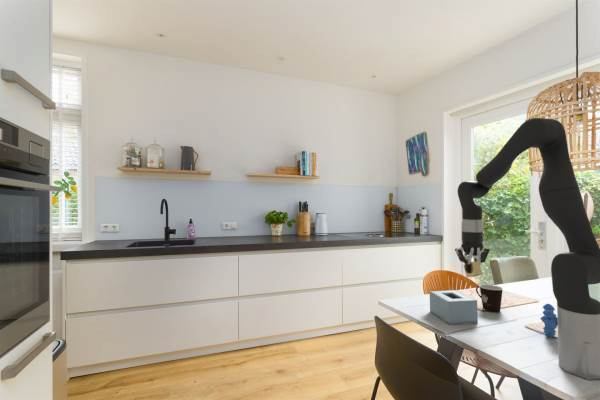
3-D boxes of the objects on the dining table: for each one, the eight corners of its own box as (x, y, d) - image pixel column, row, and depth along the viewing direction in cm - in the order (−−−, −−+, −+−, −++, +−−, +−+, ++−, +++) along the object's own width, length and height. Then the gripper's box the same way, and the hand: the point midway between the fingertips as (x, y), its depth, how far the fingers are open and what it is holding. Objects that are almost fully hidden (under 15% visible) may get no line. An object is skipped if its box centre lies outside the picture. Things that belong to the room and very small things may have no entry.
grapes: (567, 347, 97) (566, 310, 97) (541, 341, 101) (540, 306, 101) (564, 334, 106) (563, 300, 106) (540, 329, 110) (539, 297, 110)
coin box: (477, 323, 117) (477, 300, 117) (448, 324, 116) (448, 301, 116) (456, 310, 131) (455, 290, 131) (430, 311, 130) (429, 291, 130)
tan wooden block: (482, 274, 116) (478, 261, 118) (475, 274, 116) (471, 261, 118) (473, 277, 121) (470, 265, 124) (466, 277, 121) (463, 265, 123)
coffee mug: (507, 314, 125) (506, 290, 126) (484, 313, 127) (484, 289, 127) (494, 304, 137) (494, 283, 137) (474, 304, 139) (473, 282, 139)
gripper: (461, 231, 116) (461, 275, 116) (495, 231, 116) (495, 274, 117) (450, 229, 123) (450, 271, 123) (482, 229, 124) (482, 270, 124)
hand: (472, 272), depth 120 cm, fingers closed on tan wooden block, 2 cm apart
